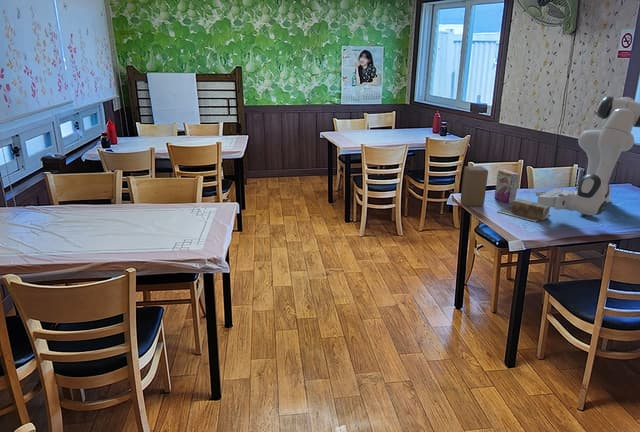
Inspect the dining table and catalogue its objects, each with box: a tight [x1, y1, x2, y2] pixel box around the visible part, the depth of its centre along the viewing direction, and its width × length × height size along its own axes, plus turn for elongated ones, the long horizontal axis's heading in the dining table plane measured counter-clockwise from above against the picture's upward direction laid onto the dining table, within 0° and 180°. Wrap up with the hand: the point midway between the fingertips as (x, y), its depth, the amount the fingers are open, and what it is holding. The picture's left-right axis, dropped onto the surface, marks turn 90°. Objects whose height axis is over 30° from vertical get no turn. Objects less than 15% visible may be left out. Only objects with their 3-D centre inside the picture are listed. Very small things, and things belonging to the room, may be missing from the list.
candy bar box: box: [493, 169, 520, 204], centre depth 249 cm, size 11×5×16 cm, turn 22°
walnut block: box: [511, 198, 551, 221], centre depth 228 cm, size 6×6×16 cm
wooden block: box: [460, 165, 489, 207], centre depth 243 cm, size 10×10×20 cm
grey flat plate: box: [496, 204, 551, 223], centre depth 231 cm, size 20×16×1 cm
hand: (537, 193), depth 224 cm, fingers closed
